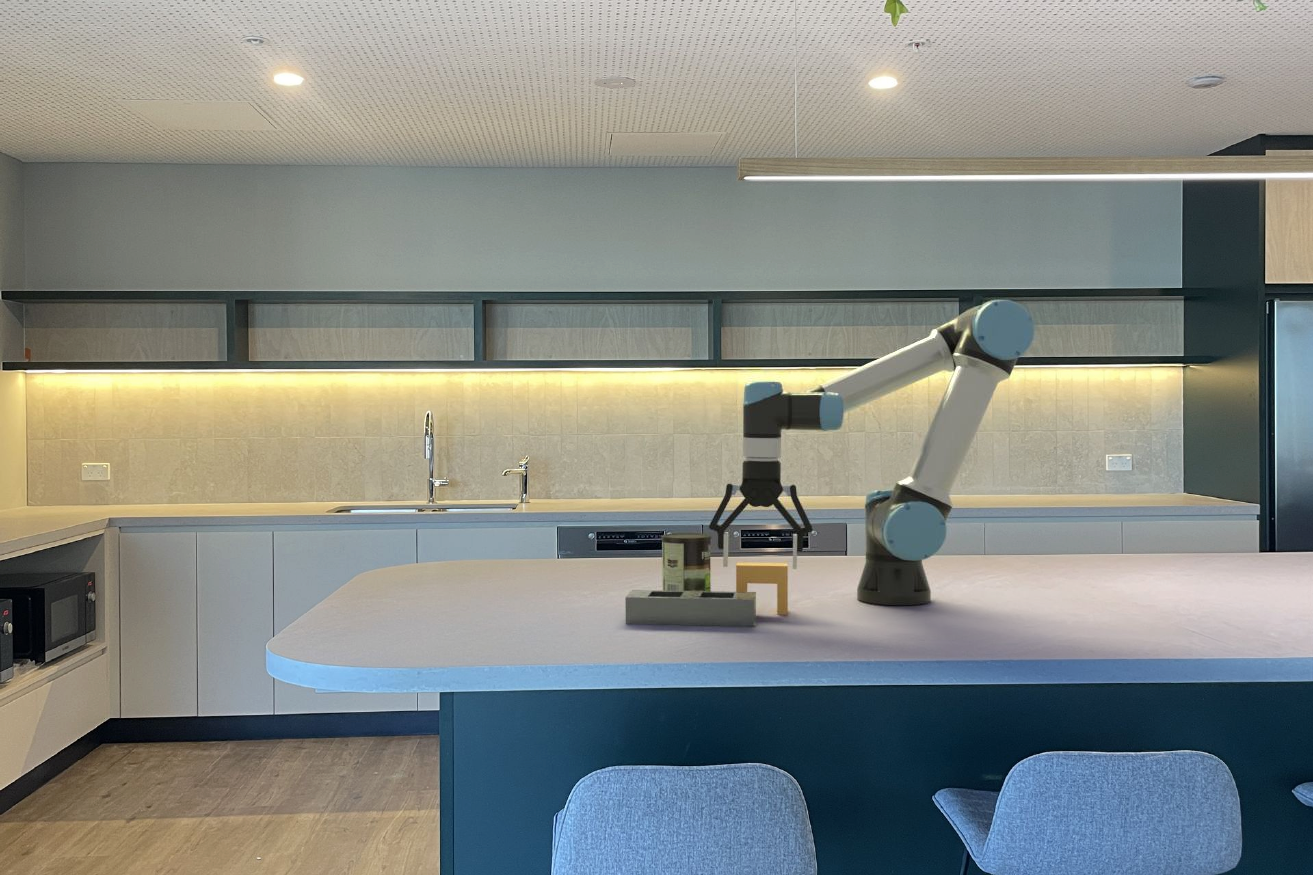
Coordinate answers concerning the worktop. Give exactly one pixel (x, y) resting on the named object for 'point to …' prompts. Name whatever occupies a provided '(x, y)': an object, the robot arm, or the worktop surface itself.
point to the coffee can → (686, 562)
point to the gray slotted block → (691, 608)
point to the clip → (765, 580)
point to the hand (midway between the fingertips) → (759, 567)
